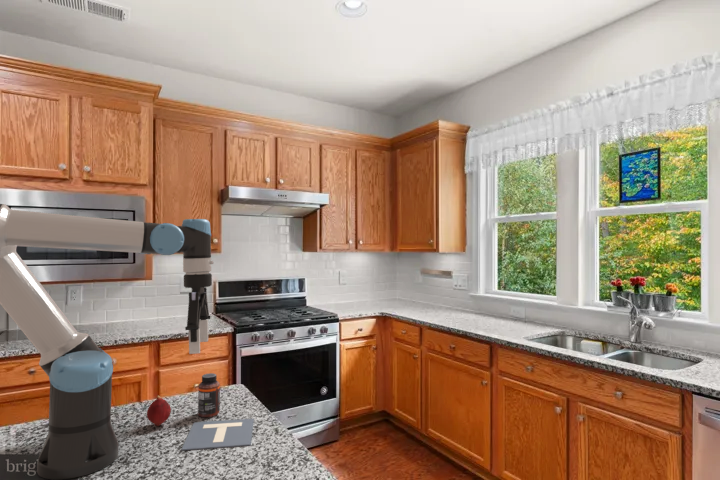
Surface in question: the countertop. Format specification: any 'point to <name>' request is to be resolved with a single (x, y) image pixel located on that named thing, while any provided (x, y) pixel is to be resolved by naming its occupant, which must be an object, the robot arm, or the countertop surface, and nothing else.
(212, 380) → the supplement bottle
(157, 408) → the onion
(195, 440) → the letter card
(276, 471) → the countertop surface
